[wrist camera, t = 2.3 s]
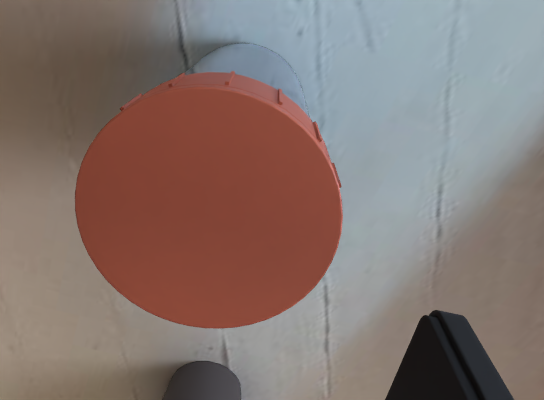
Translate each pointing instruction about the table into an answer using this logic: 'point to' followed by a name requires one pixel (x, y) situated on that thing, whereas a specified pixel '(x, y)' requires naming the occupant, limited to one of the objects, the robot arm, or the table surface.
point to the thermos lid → (210, 201)
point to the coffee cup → (203, 383)
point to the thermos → (254, 68)
